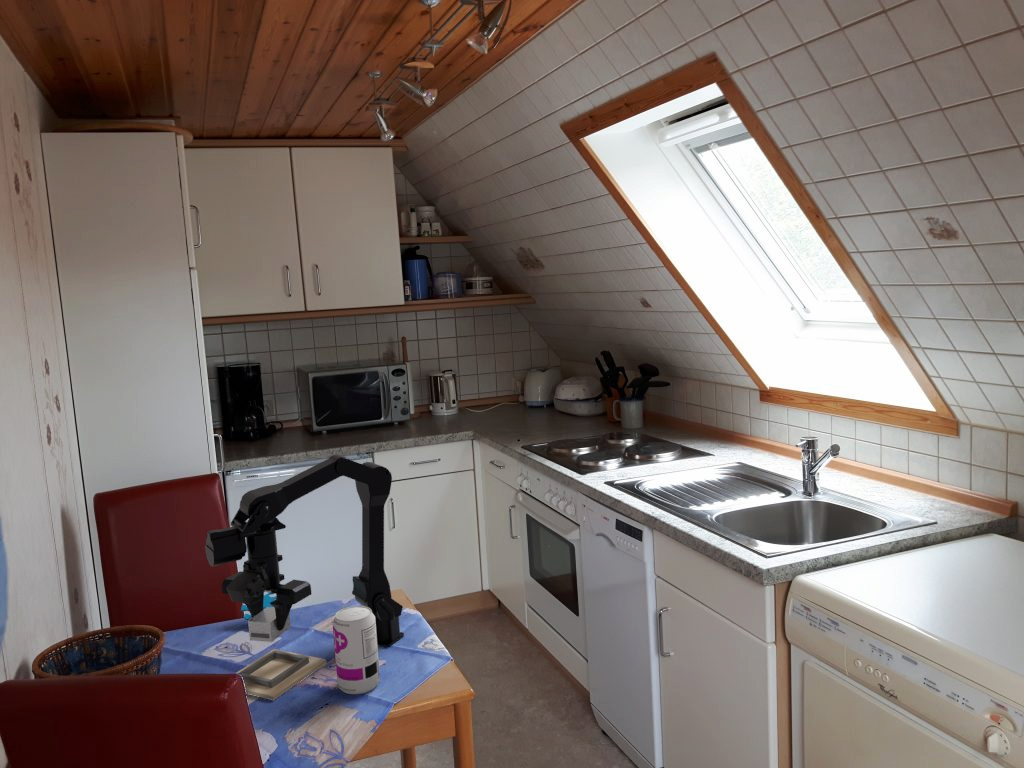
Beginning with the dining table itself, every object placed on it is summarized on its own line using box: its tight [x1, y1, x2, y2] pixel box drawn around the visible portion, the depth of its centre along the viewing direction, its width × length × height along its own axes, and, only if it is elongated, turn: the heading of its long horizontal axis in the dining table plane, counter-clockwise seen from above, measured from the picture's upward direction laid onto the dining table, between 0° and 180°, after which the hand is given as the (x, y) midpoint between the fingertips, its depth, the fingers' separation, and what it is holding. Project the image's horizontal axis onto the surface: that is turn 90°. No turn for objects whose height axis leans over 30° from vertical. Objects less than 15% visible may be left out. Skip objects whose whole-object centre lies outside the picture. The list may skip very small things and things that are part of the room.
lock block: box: [247, 607, 291, 643], centre depth 168 cm, size 5×7×4 cm
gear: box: [240, 592, 277, 621], centre depth 197 cm, size 11×6×10 cm
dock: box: [236, 648, 327, 700], centre depth 169 cm, size 14×16×2 cm
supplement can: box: [332, 605, 381, 695], centre depth 162 cm, size 8×8×15 cm
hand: (269, 627), depth 168 cm, fingers closed on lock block, 5 cm apart
